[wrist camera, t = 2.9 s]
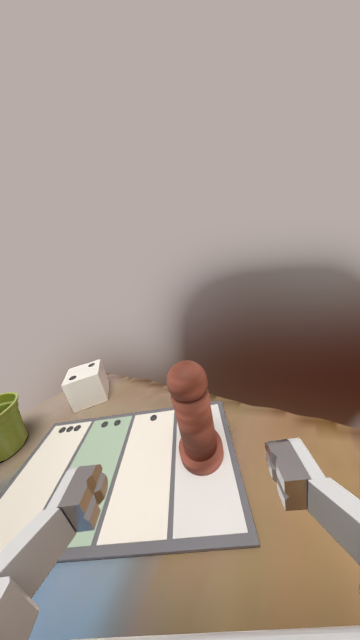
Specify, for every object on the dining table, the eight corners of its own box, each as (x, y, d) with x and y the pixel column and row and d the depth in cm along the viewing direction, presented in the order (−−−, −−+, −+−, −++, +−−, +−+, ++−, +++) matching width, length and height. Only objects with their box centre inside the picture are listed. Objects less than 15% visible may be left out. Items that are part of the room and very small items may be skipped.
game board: (-56, 571, 20) (-60, 568, 19) (55, 425, 37) (54, 422, 36) (259, 546, 17) (259, 543, 17) (221, 402, 34) (221, 399, 34)
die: (73, 413, 39) (60, 385, 37) (79, 393, 45) (68, 368, 43) (108, 400, 41) (97, 373, 38) (109, 382, 47) (100, 358, 45)
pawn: (180, 478, 23) (154, 384, 19) (180, 434, 29) (160, 354, 24) (228, 473, 23) (213, 375, 18) (219, 430, 28) (206, 347, 24)
